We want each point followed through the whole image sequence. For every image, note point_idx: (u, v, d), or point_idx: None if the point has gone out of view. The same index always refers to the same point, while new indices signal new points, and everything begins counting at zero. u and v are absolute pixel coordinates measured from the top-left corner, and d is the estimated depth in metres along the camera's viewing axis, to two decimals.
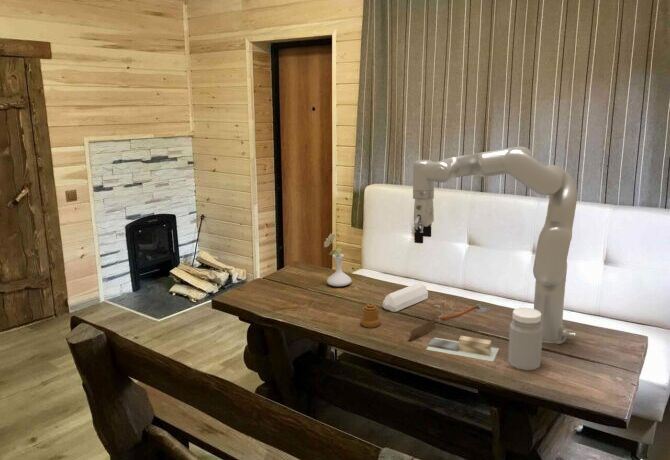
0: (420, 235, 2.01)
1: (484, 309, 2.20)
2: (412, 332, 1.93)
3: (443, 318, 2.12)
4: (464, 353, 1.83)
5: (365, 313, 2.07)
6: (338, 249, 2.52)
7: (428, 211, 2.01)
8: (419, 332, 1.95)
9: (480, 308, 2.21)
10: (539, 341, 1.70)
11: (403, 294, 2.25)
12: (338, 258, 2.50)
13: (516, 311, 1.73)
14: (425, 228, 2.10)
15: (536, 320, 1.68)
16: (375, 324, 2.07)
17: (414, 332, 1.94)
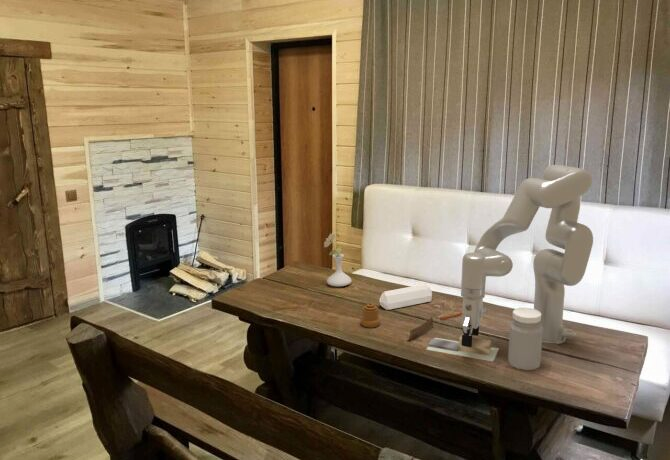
0: (468, 338, 1.78)
1: (483, 309, 2.20)
2: (411, 332, 1.93)
3: (441, 318, 2.12)
4: (464, 353, 1.83)
5: (365, 313, 2.07)
6: (338, 249, 2.52)
7: (478, 311, 1.78)
8: (418, 332, 1.96)
9: None
10: (539, 341, 1.70)
11: (400, 294, 2.25)
12: (338, 258, 2.50)
13: (516, 311, 1.73)
14: None
15: (536, 320, 1.68)
16: (375, 324, 2.07)
17: (414, 332, 1.94)
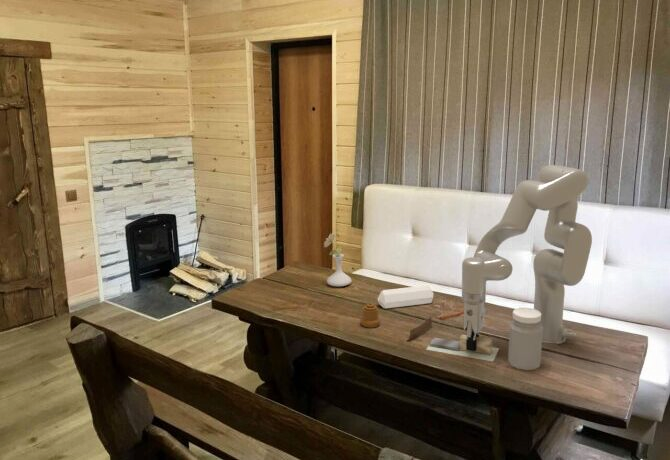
0: (473, 342, 1.81)
1: None
2: (411, 332, 1.93)
3: (440, 317, 2.12)
4: (464, 353, 1.83)
5: (365, 313, 2.07)
6: (338, 249, 2.52)
7: (480, 316, 1.78)
8: (418, 332, 1.96)
9: None
10: (539, 341, 1.70)
11: (398, 293, 2.26)
12: (338, 258, 2.50)
13: (516, 311, 1.73)
14: None
15: (536, 320, 1.68)
16: (375, 324, 2.07)
17: (413, 332, 1.94)
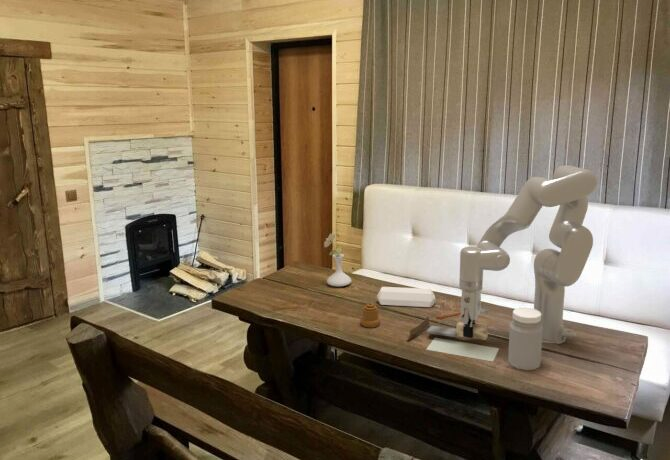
0: (470, 329, 1.87)
1: (483, 310, 2.19)
2: (411, 332, 1.93)
3: (438, 317, 2.13)
4: (464, 353, 1.83)
5: (365, 313, 2.07)
6: (338, 249, 2.52)
7: (477, 303, 1.84)
8: (416, 331, 1.96)
9: None
10: (539, 341, 1.70)
11: (396, 292, 2.27)
12: (338, 258, 2.50)
13: (516, 311, 1.73)
14: None
15: (536, 320, 1.68)
16: (375, 324, 2.07)
17: (413, 332, 1.94)
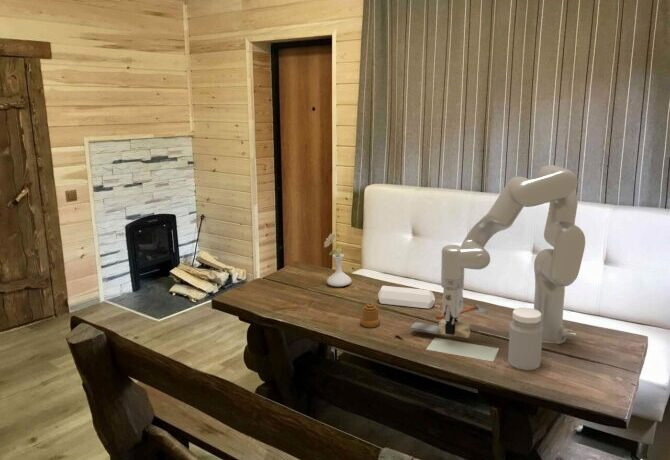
0: (451, 326, 1.90)
1: (482, 310, 2.19)
2: (398, 334, 1.97)
3: (438, 317, 2.13)
4: (464, 353, 1.83)
5: (365, 313, 2.07)
6: (338, 249, 2.52)
7: (458, 301, 1.87)
8: (406, 331, 1.99)
9: (479, 309, 2.20)
10: (539, 341, 1.70)
11: (395, 292, 2.28)
12: (338, 258, 2.50)
13: (516, 311, 1.73)
14: None
15: (536, 320, 1.68)
16: (375, 324, 2.07)
17: (401, 333, 1.98)
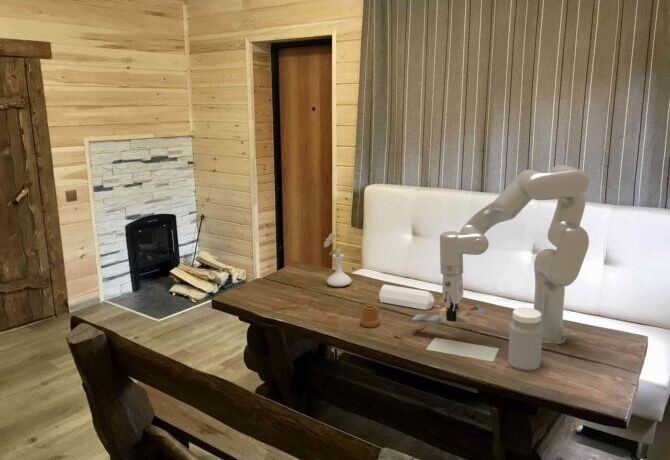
0: (452, 313, 1.89)
1: (482, 310, 2.19)
2: (397, 335, 1.97)
3: None
4: (464, 353, 1.83)
5: (365, 313, 2.07)
6: (338, 249, 2.52)
7: (458, 287, 1.86)
8: (405, 331, 1.99)
9: (478, 309, 2.20)
10: (539, 341, 1.70)
11: (395, 291, 2.29)
12: (338, 258, 2.50)
13: (516, 311, 1.73)
14: None
15: (536, 320, 1.68)
16: (375, 324, 2.07)
17: (400, 334, 1.98)
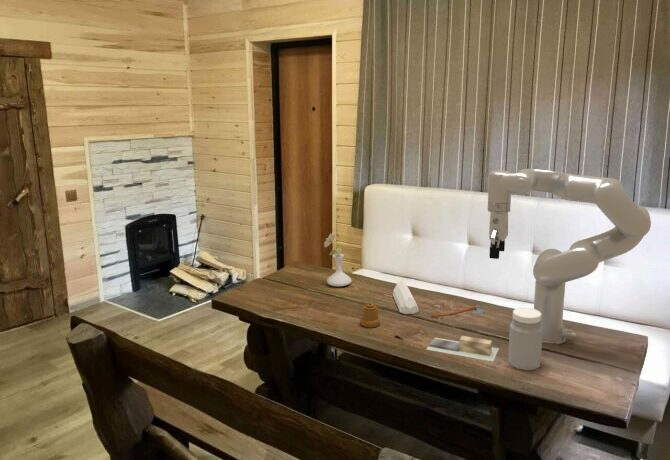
0: (496, 250, 1.90)
1: (480, 311, 2.18)
2: (398, 334, 1.97)
3: (432, 315, 2.15)
4: (464, 353, 1.83)
5: (365, 313, 2.07)
6: (338, 249, 2.52)
7: (505, 225, 1.90)
8: (406, 331, 1.99)
9: (477, 310, 2.19)
10: (539, 341, 1.70)
11: (399, 288, 2.32)
12: (338, 258, 2.50)
13: (516, 311, 1.73)
14: None
15: (536, 320, 1.68)
16: (375, 324, 2.07)
17: (401, 333, 1.98)
